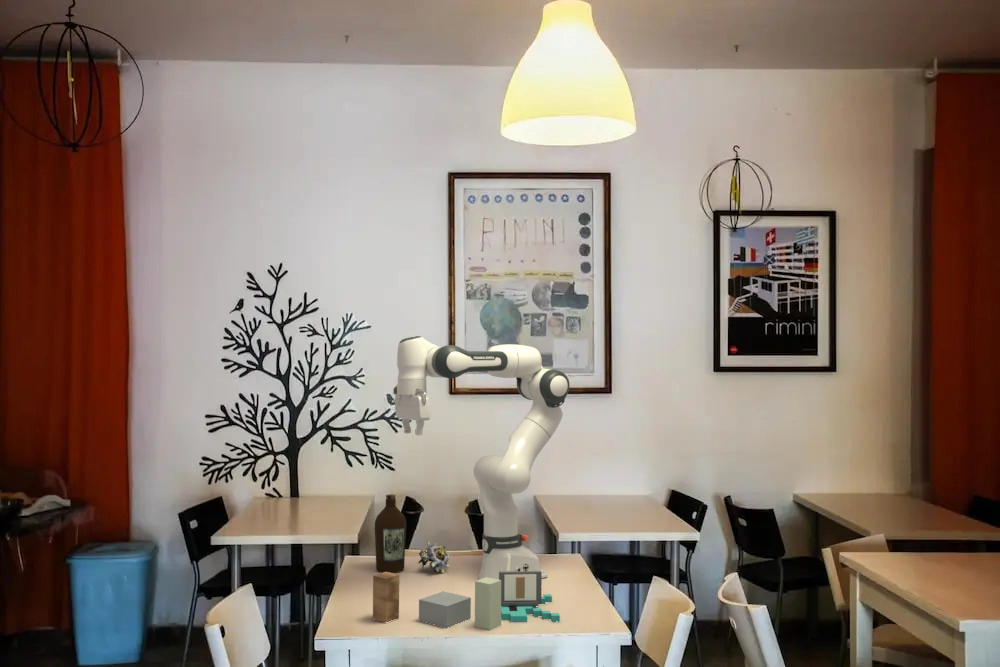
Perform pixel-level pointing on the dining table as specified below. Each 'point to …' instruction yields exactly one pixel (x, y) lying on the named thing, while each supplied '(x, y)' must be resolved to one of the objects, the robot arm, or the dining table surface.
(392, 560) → the olive oil
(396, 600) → the walnut block
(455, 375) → the robot arm
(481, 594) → the sage block
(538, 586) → the grey picture frame
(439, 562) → the passion flower
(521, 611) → the alien figure
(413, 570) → the dining table surface
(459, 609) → the slate base block
